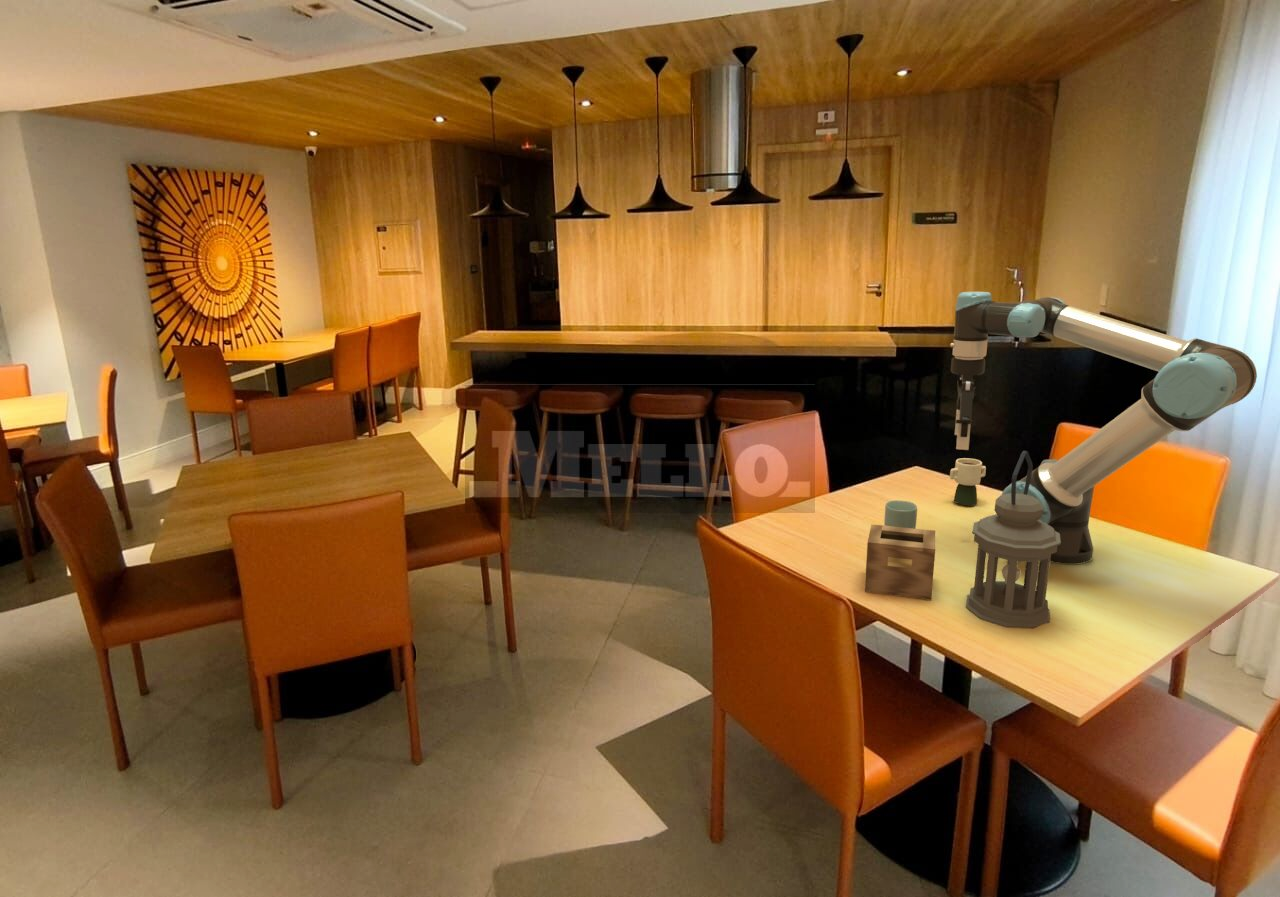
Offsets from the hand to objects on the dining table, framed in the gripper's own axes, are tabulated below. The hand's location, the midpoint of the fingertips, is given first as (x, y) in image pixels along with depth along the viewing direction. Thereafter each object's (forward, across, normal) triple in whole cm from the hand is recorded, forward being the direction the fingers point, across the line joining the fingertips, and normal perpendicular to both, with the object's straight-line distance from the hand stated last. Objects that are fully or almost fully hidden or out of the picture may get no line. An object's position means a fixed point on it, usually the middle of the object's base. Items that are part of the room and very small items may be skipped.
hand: (961, 442), depth 187 cm
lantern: (+27, +35, +10) cm, 45 cm away
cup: (+27, +4, -13) cm, 30 cm away
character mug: (+27, -30, +4) cm, 41 cm away
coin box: (+27, +30, -12) cm, 42 cm away
